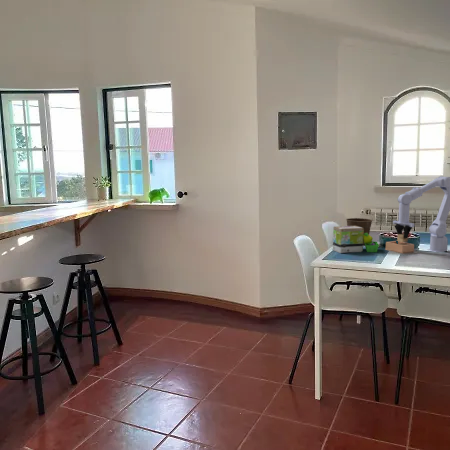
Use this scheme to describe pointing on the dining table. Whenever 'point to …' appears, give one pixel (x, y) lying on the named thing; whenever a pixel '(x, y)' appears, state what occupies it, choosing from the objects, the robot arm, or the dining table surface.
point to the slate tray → (407, 253)
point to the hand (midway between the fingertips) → (402, 237)
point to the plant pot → (360, 224)
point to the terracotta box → (399, 247)
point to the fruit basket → (370, 243)
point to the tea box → (348, 239)
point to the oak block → (401, 238)
